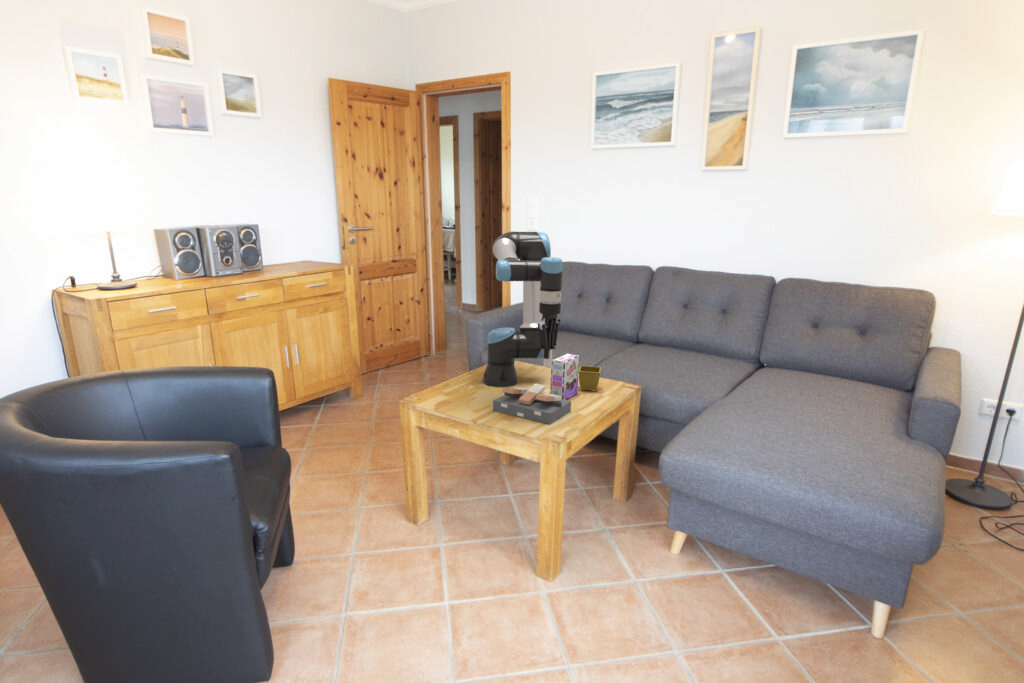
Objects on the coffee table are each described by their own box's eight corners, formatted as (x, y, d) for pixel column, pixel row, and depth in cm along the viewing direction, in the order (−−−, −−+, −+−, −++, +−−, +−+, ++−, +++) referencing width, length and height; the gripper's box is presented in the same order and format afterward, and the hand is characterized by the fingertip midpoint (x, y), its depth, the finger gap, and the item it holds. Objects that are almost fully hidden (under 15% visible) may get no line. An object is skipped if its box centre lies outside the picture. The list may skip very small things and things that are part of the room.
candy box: (562, 402, 217) (564, 362, 213) (549, 400, 220) (550, 359, 216) (578, 393, 228) (580, 354, 225) (565, 391, 231) (566, 352, 228)
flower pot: (598, 393, 229) (600, 372, 227) (577, 391, 231) (578, 370, 229) (599, 387, 238) (601, 366, 236) (579, 385, 240) (580, 365, 238)
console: (492, 410, 207) (492, 396, 205) (515, 399, 220) (516, 385, 219) (549, 424, 194) (550, 409, 193) (570, 411, 207) (571, 397, 206)
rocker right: (535, 399, 198) (536, 394, 198) (550, 398, 208) (551, 394, 208) (546, 401, 196) (547, 396, 196) (561, 400, 206) (562, 396, 206)
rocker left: (502, 391, 205) (503, 387, 205) (519, 391, 216) (519, 387, 215) (512, 393, 203) (513, 389, 203) (528, 393, 213) (529, 389, 213)
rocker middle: (519, 402, 203) (518, 398, 202) (535, 387, 212) (535, 383, 211) (529, 405, 200) (529, 401, 200) (545, 389, 209) (545, 385, 209)
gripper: (550, 306, 189) (548, 372, 194) (568, 300, 199) (565, 364, 205) (531, 303, 192) (529, 369, 198) (549, 298, 203) (547, 360, 209)
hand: (547, 366), depth 202 cm, fingers closed
